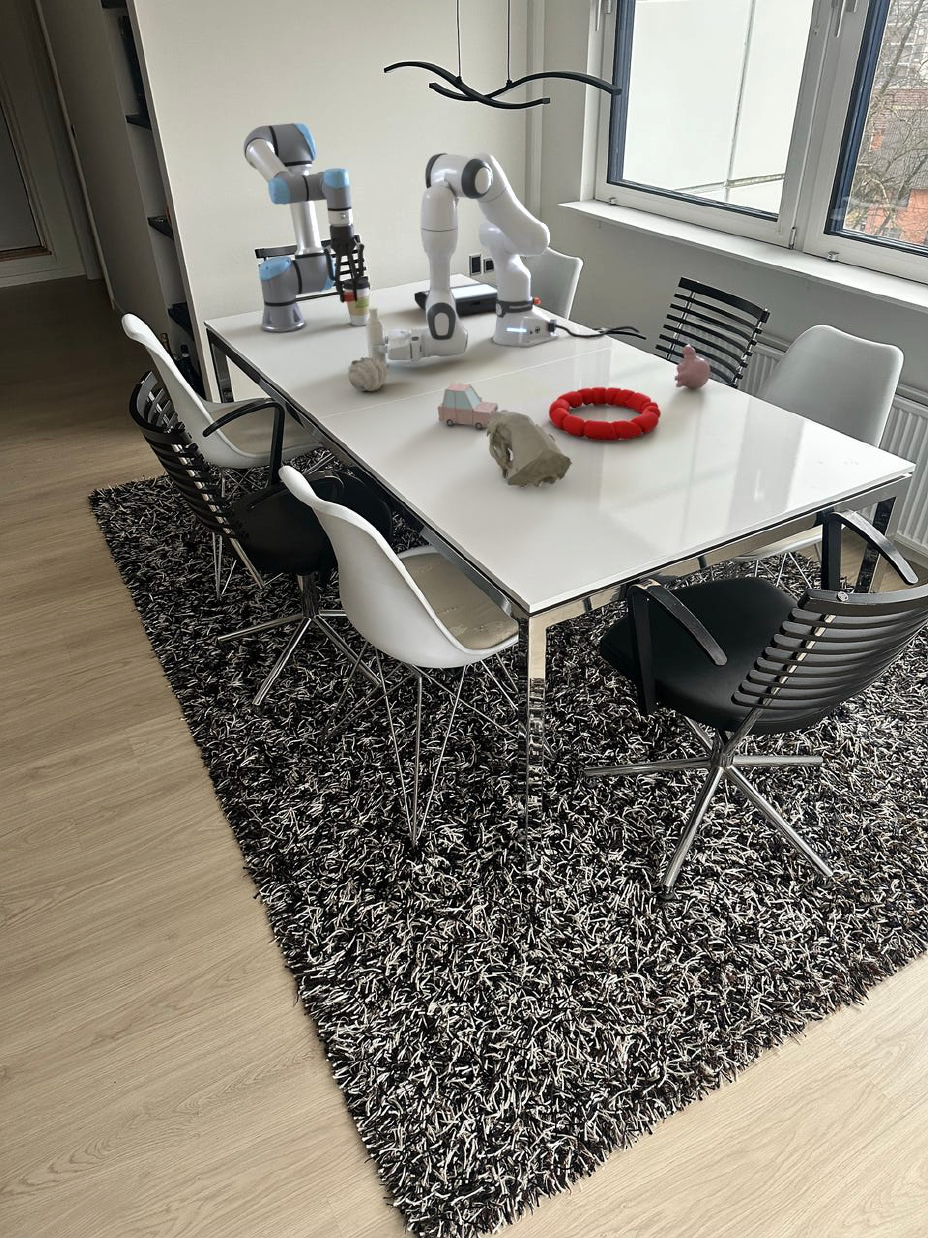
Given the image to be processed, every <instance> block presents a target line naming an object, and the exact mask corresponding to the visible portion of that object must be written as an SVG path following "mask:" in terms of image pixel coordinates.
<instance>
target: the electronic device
mask: <svg viewBox="0 0 928 1238" xmlns="http://www.w3.org/2000/svg"><path fill="white" fill-rule="evenodd" d="M450 288H451V291H452V293H453V295H454V298H455V300H456V312H457V314H458V317H460V316H467V315H473V314H480V313H481V314H482V313H487V312H493V311H496V297H497V284H494V283H492V282H490V281H484V282H478V283H471V284H464V285H457V286H450ZM428 293H429V290H423V291H418V292H415V293H414V295H413V296H414V302H415V303H416V304H417V306H418V307H419V308H420V309H421V310H422V311H424V312H426V309H425V300H426V297H427V295H428Z"/></svg>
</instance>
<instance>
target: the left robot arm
mask: <svg viewBox="0 0 928 1238" xmlns="http://www.w3.org/2000/svg"><path fill="white" fill-rule="evenodd" d="M316 151H317V149H316V144H315V141H314V137H313V135H312V133H311V130H310V129H309V127H308V126H307V125H306V124H304V123H300V122H299V123H296V122H295V123H294V122H292V123H291V122H290V123H282V124H281V123H280V124H273V125H261V126H258V127H256V128H254V129H253V130H252V131H251V132H249V134H248V135H247V136H246V137H245V140H244V143H243V155H244V158H245V160H246V162H247V163H248V164H249V165H250V166H251V167H252V168H253V169H255V170H257V171H258V172H259V174H260V175H261V177H263V178H264V179H265V181H266V183H267V188H268V189H267V190H268V195H269V198H270V201H271V203H272V204H274V205H285V206H286V205H289V209H290V214H291V220H292V225H293V226H292V227H293V231H294V236H295V243H296V248H297V249H296V251H295V252H294V255H293V256H294V259H293V260H292V258H291V257H290V256H288V255H282V256H275V257H271V258H268V259H265V260H264V261H262V262H261V263H260V265H259V266H258V273H259V274H258V275H259V280H260V287H261V292H262V299H263V313H262V319H261V326H262V330H264V331H265V332H271V333H286V332H293V331H296V330H297V331H298V330H300V329H302V328H304V326H305V319H304V317H303V314H302V312H301V310H300V307H299V306H298V305H299V304H298V303H297V295H299V296H300V295H305V294H313V293H322V292H325V291H329V290H331V289H332V288H333V287H334V285H335V290H336V291H335V292H336V293H338V294H339V301H340V303H342V304H344V303H346V302H344V288H343V284H344V282H343V281H342V280H341V269H342V259H343V257H345V256H347V259H348V263H349V266H350V270H351V273H352V278H353V279H351V280H352V290H353V292H354V296H355V301H358V299H357V290H358V289H359V278H364V277H365V267H364V266H365V265H364V250H365V247H366V246H365V244H364V243H361V242H357V240H356V239H355V229H354V228H355V227H354V224H353V222H354V220H353V211H352V209H353V208H352V196H351V187H350V186H351V182H350V177H349V172H348V170H347V169H346V168H338V167H337V168H336V167H335V168H328V169H325V170H324V171H319V172H317V173H311V174H310V171H311V170H312V168H313V162H314V161H315V160H316V158H317V153H316ZM316 201H326V208H327V218H328V224H329V228H328V229H329V235H330V242H329V245H327V246H322V242H321V236H320V235H321V234H320V229H319V224H318V217H317V212H316V206H315V202H316ZM355 249H356V250H357V251H356V252H357V266H356V262H355V258H354V254H353V252H354V250H355ZM332 251H333V252H334V253H335V262H334V259H333V257H332V255H331V253H332Z"/></svg>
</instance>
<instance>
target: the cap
mask: <svg viewBox="0 0 928 1238" xmlns="http://www.w3.org/2000/svg"><path fill="white" fill-rule="evenodd" d="M343 293H344V302H345V303H347V302H351V301H354V300H355V296H354V292H345V291H343Z"/></svg>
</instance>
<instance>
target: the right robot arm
mask: <svg viewBox="0 0 928 1238" xmlns="http://www.w3.org/2000/svg"><path fill="white" fill-rule="evenodd" d="M424 179H425V186H426V189H425V191H424V192H423V194H422V199H421V206H420V207H421V208H420V236H421V243H422V248H423V251H424V253H425V254H426V256H427V258H428V262H429V289H428V291H429V293H428V295H427V297H426V300H425V309H426V311H425V320H426V324H427V325H428V327H427V328H426V327H425V328H411V329H390V330H389V331H388V333H387V334H388V335H386V336H385V345H384V346H379V345H374V346H373V351H374V352H382V353H386V356H387V359H388V360H390V361H411V362H414V363H415V362H419V361H420V360H421V359H424V358H431V357H439V358H441V357H442V358H443V357H444V358H445V357H453V356H459V355H462V354H464V353H465V352H466V349H467V346H468V340H469V339H468V338H469V332H468V330H467V328H465V326H464V325H463V323H462V321H461V319H460V318H459V317H460V316H458V314H457V312H456V300H455V298H454V295H453V293H452V291H451V288H450V287H451V259H452V257H453V255H454V254H455V253H456V250H457V244H458V237H459V219H458V208H457V207H458V204H459V201H460V198H466V199H470V200H475V201H476V203H477V205H478V207H479V209H480V211H481V213H482V215H483V217H484V219H483V220H482V221H481V224H480V226H479V229H478V239H479V242H480V244H481V245H482V246H483V248H484V249H485V250H486V251H487V253H488V254H489V256H490V258H491V261H492V264H493V266H494V270H495V275H496V277H495V278H496V286H497V297H496V310H495V314H496V320H495V327H494V333H493V337H492V341H493V342H494V343H495V344H498V345H502V346H511V347H522V348H527V347H531V346H535V345H537V344H541V343H545V342H548V341H552V340H555V339H558V333H557V331H556V330H557V329H560V330H563V331H565V332H566V333H567V334H568V335H569V336H572V337H574V338H575V337H576V338H583V339H592V338H599V337H600V338H601V337H603V336H605V335H606V334H607V333H609V332H616V331H620V330H632V331H633V332H635V333H637V334H639V333H640V330H639V329H638V328H637V327H634V326H631V325H621V326H617V327H610V328H608V329H605V330H603V331H602V332H600V333H593V334H579V333H574V332H572V331H571V330H570V329H569V328H568V327H566V326H564V325H559V324H557V319H550V318H549V317H548V316H547V315H546V314H544V313H543V312H542V311H541V310H539V309H538V308H537V307H536V306H539V305H540V304H541V299H540V298H538V297H534V296H531V273H530V271H529V268H527V267H526V265H524V263H523V262H522V260H521V258H520V257H525V258H526V257H536V256H542V255H543V254H544V253H545V252H546V250H547V249H548V247H549V244H550V240H551V235H550V231H549V228H548V226H547V225H546V224H544V223H543V222H541V221H540V220H539V219H537V218H536V217H535V216H533V214H531V213H530V212H529V211H528V210H527V208H525V206H524V205H522V203H521V202H520V201H519V200H518V198H517V197H516V194H515V192H514V191H513V189H512V187H511V185H510V183H509V181H508V178H507V176H506V174H505V172H504V170H503V169H502V167H501V166H500V164H499V162H498V161H497V160H496V158H495V157H494V156H493V155H492V154H490V153H489V152H486V151H481V152H477V153H475V154H473V155H472V156H468V155H464V154H454V153H453V154H450V153H446V152H442V153H436V154H433V155H432V156H430V158H429V159H428V162H427V164H426V166H425V173H424Z"/></svg>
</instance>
